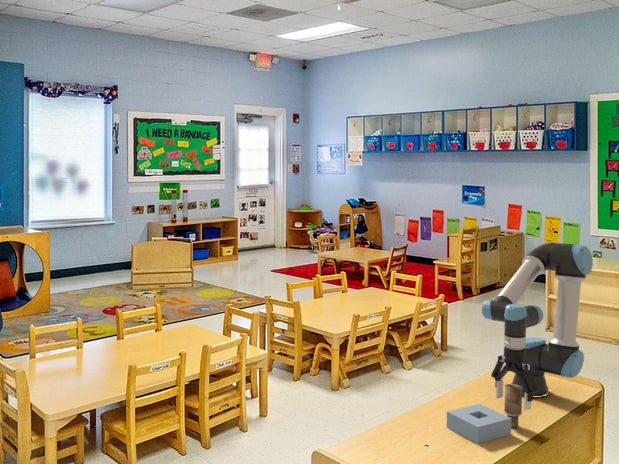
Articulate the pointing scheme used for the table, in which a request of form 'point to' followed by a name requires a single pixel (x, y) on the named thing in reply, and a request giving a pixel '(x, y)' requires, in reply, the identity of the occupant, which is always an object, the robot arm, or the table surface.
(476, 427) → the seat block
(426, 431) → the table surface
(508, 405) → the peg
